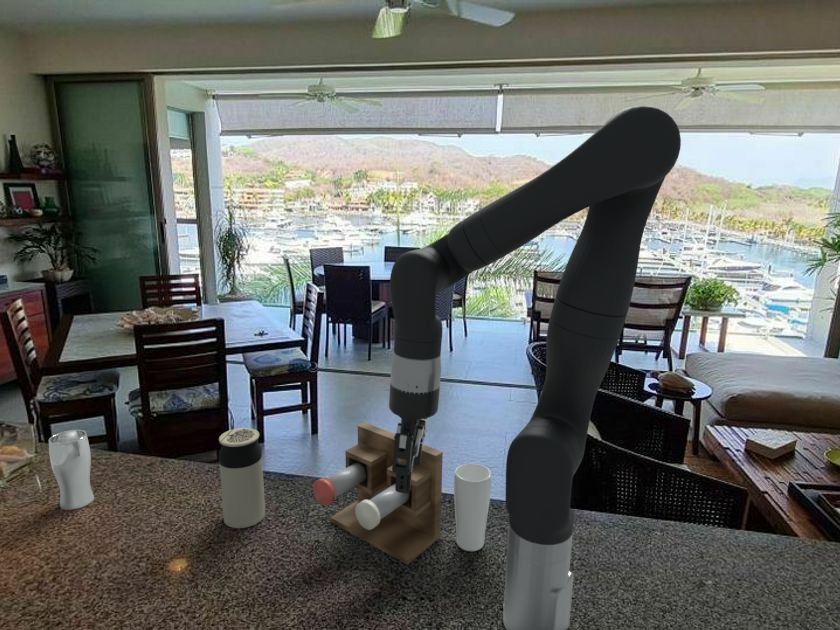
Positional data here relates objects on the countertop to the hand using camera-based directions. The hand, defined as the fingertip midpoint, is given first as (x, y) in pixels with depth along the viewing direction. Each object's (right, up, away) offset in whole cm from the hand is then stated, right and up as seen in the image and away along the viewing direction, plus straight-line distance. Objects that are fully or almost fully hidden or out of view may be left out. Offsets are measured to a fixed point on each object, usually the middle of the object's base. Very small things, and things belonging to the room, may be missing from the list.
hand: (408, 476), depth 84 cm
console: (-5, -17, +20) cm, 27 cm away
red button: (-13, -8, +17) cm, 23 cm away
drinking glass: (+11, -18, +17) cm, 27 cm away
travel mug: (-34, -16, +24) cm, 44 cm away
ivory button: (-5, -10, +11) cm, 15 cm away
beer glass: (-71, -14, +28) cm, 77 cm away
